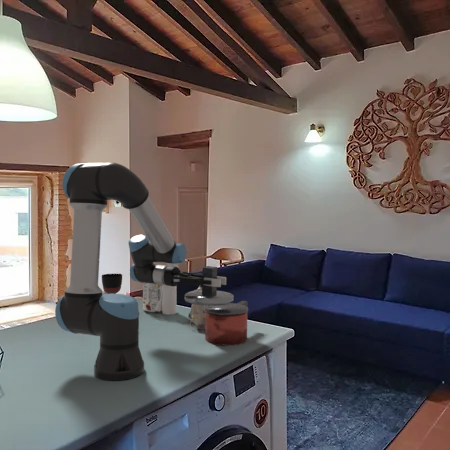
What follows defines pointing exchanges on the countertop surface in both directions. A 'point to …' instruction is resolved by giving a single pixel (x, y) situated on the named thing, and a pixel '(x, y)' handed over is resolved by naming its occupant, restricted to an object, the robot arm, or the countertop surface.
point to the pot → (226, 323)
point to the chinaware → (198, 314)
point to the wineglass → (112, 283)
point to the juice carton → (151, 296)
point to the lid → (209, 292)
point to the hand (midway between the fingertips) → (223, 282)
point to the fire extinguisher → (167, 298)
